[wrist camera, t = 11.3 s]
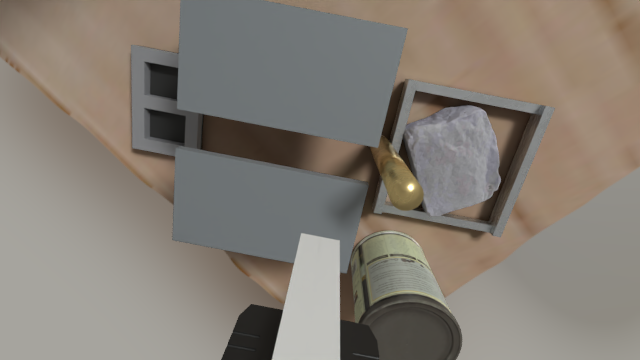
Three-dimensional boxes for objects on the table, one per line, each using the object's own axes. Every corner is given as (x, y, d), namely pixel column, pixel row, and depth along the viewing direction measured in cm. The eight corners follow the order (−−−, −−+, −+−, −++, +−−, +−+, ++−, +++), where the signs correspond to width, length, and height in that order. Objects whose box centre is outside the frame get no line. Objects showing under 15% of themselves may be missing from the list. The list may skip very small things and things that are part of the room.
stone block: (467, 96, 38) (391, 127, 38) (494, 96, 34) (407, 132, 33) (486, 183, 42) (417, 212, 42) (513, 194, 37) (435, 227, 37)
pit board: (139, 45, 37) (131, 44, 36) (206, 59, 37) (201, 58, 36) (139, 145, 41) (132, 148, 39) (200, 157, 41) (195, 160, 40)
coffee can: (434, 281, 45) (473, 370, 32) (364, 301, 47) (374, 392, 33) (413, 219, 42) (447, 288, 29) (339, 242, 44) (339, 317, 30)
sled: (386, 75, 36) (422, 78, 20) (543, 105, 36) (700, 132, 20) (355, 203, 41) (365, 283, 26) (493, 229, 41) (587, 326, 26)
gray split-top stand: (227, 10, 35) (181, -16, 25) (387, 41, 35) (407, 28, 25) (213, 199, 43) (172, 240, 32) (344, 224, 43) (346, 273, 32)
